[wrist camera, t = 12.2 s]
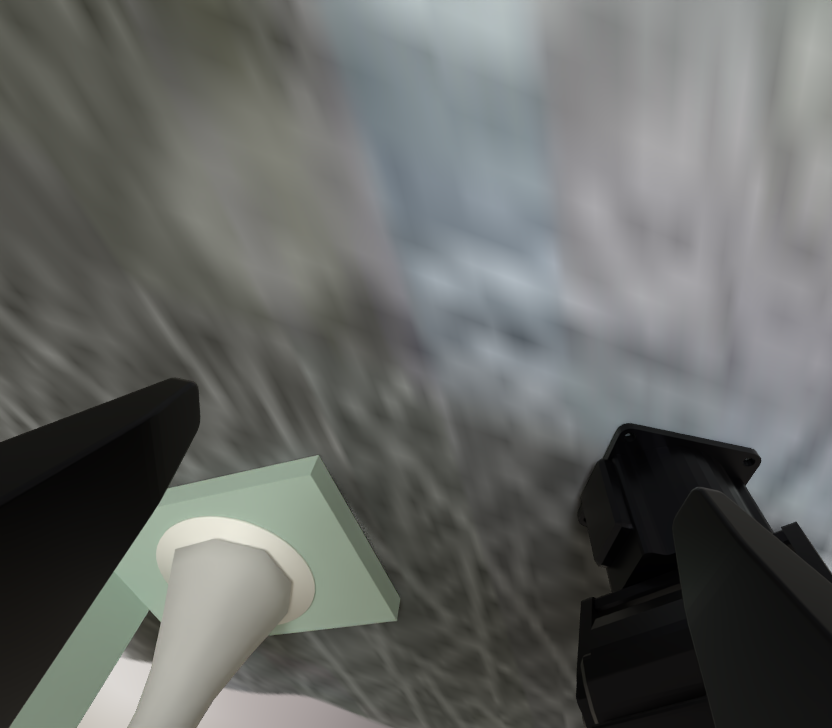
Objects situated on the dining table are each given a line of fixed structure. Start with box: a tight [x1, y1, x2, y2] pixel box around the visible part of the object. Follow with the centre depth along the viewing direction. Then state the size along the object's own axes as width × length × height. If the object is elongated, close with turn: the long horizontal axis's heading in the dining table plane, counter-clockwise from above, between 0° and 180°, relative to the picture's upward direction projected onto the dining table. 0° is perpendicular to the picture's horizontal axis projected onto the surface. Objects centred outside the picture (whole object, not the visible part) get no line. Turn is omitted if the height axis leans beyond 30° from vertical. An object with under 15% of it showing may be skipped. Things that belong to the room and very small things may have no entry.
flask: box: [127, 539, 292, 728], centre depth 26 cm, size 7×7×10 cm
